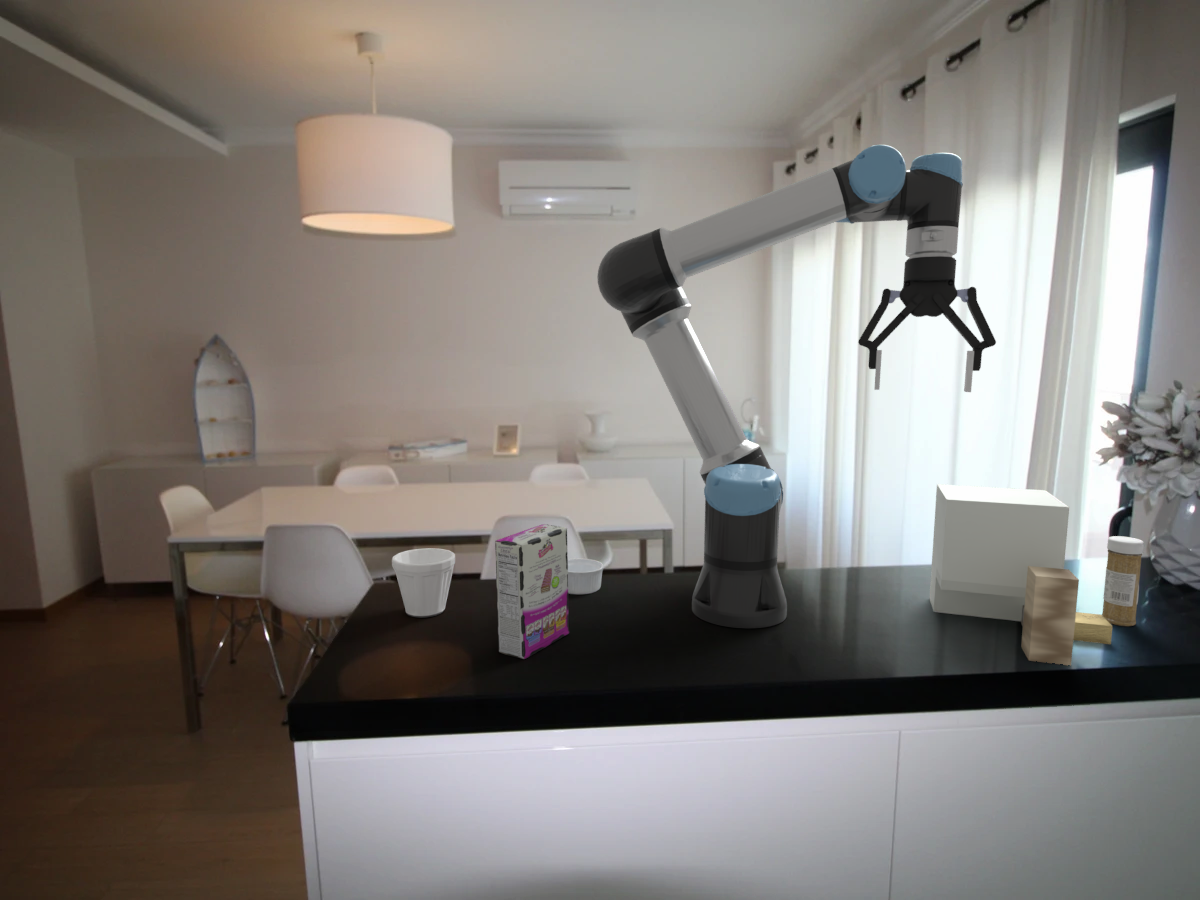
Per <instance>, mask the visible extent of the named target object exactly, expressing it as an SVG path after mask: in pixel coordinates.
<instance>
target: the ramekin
mask: <svg viewBox="0 0 1200 900" xmlns="http://www.w3.org/2000/svg"><path fill="white" fill-rule="evenodd" d="M604 567H605V566H604V564H603V563H602V562H601V561H598V560H595V559H591V558H580V557H579V558H578V557H576V558H568V595H569V594H570V595H589V594H593V593H596V592H597V591H599V590H600V589H601V586H602V576H603V571H604Z"/></svg>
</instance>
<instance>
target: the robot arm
mask: <svg viewBox="0 0 1200 900" xmlns="http://www.w3.org/2000/svg"><path fill="white" fill-rule="evenodd" d="M962 189H963V161H962V159H961V157H960V156H959V155H957V154H954V153H951V152H935V153H931V154H930V153H929V154H923V155H920V156H917V157H916V158H914V159H913V160H912V161H911V165H910V168H909V169H908V170H907V166H906V160H905V159H904V157H903V155H902V153H901V152H900V151H898V149H896V148H895V147H893V146H891V145H888V144H875V145H871V146H869V147H867V148H864V149H863V150H862V151H861V152H860V153H858V154H857V155H856V156H855V158H853V159H851V160H850V161H847V162H844V163H842V164H839V165H836V166H835V167H833V168H829V169H827V170H824V171H821V172H819V173H816V174H814V175H812V176H809V177H806V178H804V179H801V180H798V181H796V182H794V183H790V184H788V185H785V186H782V187H780V188H778V189H776V190H772V191H771V192H767V193H765V194H763V195H759V196H758V197H757V196H756V197H755V198H752V199H750V200H748V201H744V202H742V203H740V204H737V205H734V206H732V207H729V208H727V209H724V210H722V211H719V212H716V213H715V214H711V215H709V216H705V217H704V218H701V219H698V220H696V221H694V222H693V221H692V222H691V223H687V224H685V225H684V226H681V227H678V228H675V229H674V230H670V229H669V230H668V229H666V228H665V227H660V228H658V229H655V230H653V231H650V232H647V233H644V234H641V235H639V236H636V237H632V238H630V239H627V240H625V241H622V242H620V243H618V244H616V245H615V246H613V247H611V248H610V250H608V251H607V252H606V254H605V255H604V256H603V258H602V259H601V261H600V263H599V266H598V270H597V284H598V285H597V286H598V290H599V292H600V294H601V296H602V298H603V299H604V301H605V302H606V303H607V304H608V305H609V306H610V307H611V308H613V309H615V310H617V311H619V312H620V313H621V315H622V317H623V319H624V321H625V323H626V325H627V327H628V329H629V331H630V334H631V335H632V337H634V338H637V339H639V340H642V341H644V343H645V345H646V347H647V350H648V351H649V353H650V355H651V357H652V359H653V361H654V363H655V365H656V367H657V369H658V371H659V373H660V376H661V377H662V379H663V382H664V383H665V385H666V387H667V389H668V392H669V394H670V395H671V397H672V401H673V402H674V404H675V406H676V408H677V411H678V413H679V414H680V416H681V418H682V421H683V422H684V424H685V426H686V428H687V431H688V432H689V434H690V437H691V439H692V441H693V443H694V445H695V446H696V449H697V451H698V453H699V455H700V457H701V459H702V465H701V468H700V471H699V474H700V477H701V478H702V481H703V483H704V484H705V485H704V488H703V489H704V490H703V495H704V498H705V500H704V501H705V503H704V506H705V507H704V536H703V537H704V539H703V540H704V542H703V544H704V545H703V564H702V565H703V566H702V567H701V570H700V574H699V576H698V578H697V579H698V580H697V582H696V584H695V587H694V590H693V593H692V597H691V599H692V600H691V611H692V613H693V614H694V616H695V617H697V618H698V619H701V620H703V621H705V622H706V623H707V622H708V623H711V624H714V625H716V626H717V625H718V626H721V627H727V628H736V629H763V628H768V627H773V626H776V625H778V624H782V622H784V621H785V620H786V618H787V615H788V603H787V601H788V600H787V598H786V594H785V591H784V588H783V585H782V584H783V583H782V581H781V578H780V574H779V570H778V549H779V528H780V526H779V522H780V514H781V508H782V505H783V501H784V491H783V489H784V488H783V484H782V481H781V479H780V477H779V475H778V473H777V472H776V471H775V470H774V469H772V468H771V466H770V463H769V462H768V460H767V458H766V456H765V454H764V452H763V450H762V448H761V446H760V444H759V443H756V442H754V441H750V440H749V439H747V437H746V434H745V432H744V431H743V428H742V426H741V425H740V422H739V420H738V418H737V417H736V415H735V412H734V410H733V408H732V406H731V404H730V402H729V400H728V398H727V396H726V393H725V392H724V390H723V388H722V386H721V383H720V382H719V379H718V378H717V375H716V373H715V371H714V369H713V367H712V364H710V363H711V362H710V361H709V359H708V357H707V355H706V353H705V351H704V349H703V347H702V345H701V343H700V340H699V338H698V336H697V334H696V333H695V331H694V328H693V327H692V324H691V322H690V321H689V315H690V313H691V310H692V304H691V302H690V300H689V298H688V296H687V294H686V292H685V290H684V288H683V286H684V284H685V281H687V278H689V277H693V276H694V275H698V274H700V273H703V272H705V271H708V270H710V269H713V268H716V267H719V266H722V265H724V264H726V263H729V262H732V261H734V260H737V259H740V258H743V257H745V256H748V255H751V254H753V253H756V252H759V251H762V250H764V249H767V248H769V247H773V246H775V245H777V244H780V243H783V242H785V241H788V240H791V239H793V238H794V239H795V238H796V237H799V236H801V235H804V234H807V233H809V232H812V231H815V230H818V229H820V228H823V227H825V226H828V225H831V224H834V223H848V224H851V225H852V224H855V223H870V222H871V223H872V222H889V221H890V222H891V221H893V222H894V221H896V222H897V221H899V222H900V221H901V222H902V221H906V222H907V227H906V238H905V239H906V240H905V241H906V242H905V256H906V257H907V259H906V261H905V262H904V271H903V286H902V289H901V290H895V289H894V290H893V289H889V288H884V289H883V290H882V294H881V300H880V303H879V305H878V306H877V308H876V309H875V312H874V314H873V315H872V316H871V318H870V320H869V322H868V324H867V325H866V327H865V329H864V331H863V332H862V334H861V336H860V337H859V339H858V342H857V343H858V345H860V346H862V347H864V348H867V349H868V350H869V351H868V352H869V353H868V368H869V370H875V375H874V391H878V390H879V391H880V386H881V372H882V371H881V367H882V352H883V350H882V349H878V347H880V346H881V345H882V344H883V342H884V341H885V340H886V339H888V337H889V336H890V335H891V334H892V333H893V332H894V331H895V330H896V329H897V328H898V327H899V326H900V325H901V324H902V322H903V321H904V320H906V318H908V316H910V315H911V316H913V317H917V318H922V317H932V318H936V317H939V316H941V315H943V316H944V317H945V319H947V320H948V321H949V323H951V325H952V326H953V327H954V328H955V330H956V331H957V332H958V333H959V334H960V336H962V337H963V339H964V340H965V341H966V343H967V344H968V345H969V346H970V348H972V350H967V351H966V359H965V360H966V362H965V374H964V385H963V386H964V389H963V392H964V393H972V386H973V385H972V384H973V383H972V382H973V373H974V372H979V371H980V370H981V368H982V367H981V366H982V357H983V355H982V353H983V351H984V350H985V349H987V348H990V347H994V346H995V345H996V343H997V341H996V339H995V338H996V337H995V336H994V334H993V332H992V331H991V328H990V326H989V324H988V322H987V319H986V318H985V315H984V313H983V311H982V309H981V307H980V304H979V303H978V297H977V288H976V287H974V286H971V287H968V288H964V289H963V288H962V289H957V288H956V285H955V284H956V283H955V282H956V281H955V280H956V269H957V268H956V267H957V259H956V258H955V257H953V256H955V255H957V252H958V241H959V239H958V238H959V225H960V213H961V202H962V193H963V192H962ZM957 297H959V298H960V299H961V302H963V303H966V305H967V308H968V310H969V312H970V315H971V316H972V319H973V320H974V323H975V325H976V327H977V329H978V331H979V333H980V335H981V337H982V340H981V341H980V340H979V339H978V338H977V336H976V335H975V334H974V333H973V332H972V330H970V328H969V327H968V326H967V324H965V323H964V321H963V320H962V319H961V318H960V317H959V315H958V314H957V312H955V310H954V309H953V308H952V307H951V304H953V302H954V301H955V299H956V298H957ZM898 298H899V299H900V301H901V302H902V304H903V305H904V306H905V307H904V308H903V309H902V310H901V311H900V312H899V313H898V314H897V315H896V317H895V318H893V320H892V321H891V322H890V323H889V324H888V325H886V327H885V328H884V329H883V330H882V331H881V332H880V333H879V334H878V335H877V337H875V338H874V339H873V340H869V339H870V337H871V336H872V334H873V332H874V331H875V329H876V328H877V326H878V324H879V322H880V320H881V318H882V317H883V316H884V313H885V312H886V310H887V308H888V306H889V304H893V303H895V301H896V299H898Z"/></svg>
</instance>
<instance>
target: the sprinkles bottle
mask: <svg viewBox="0 0 1200 900" xmlns="http://www.w3.org/2000/svg"><path fill="white" fill-rule="evenodd" d="M1144 544H1145V542H1144V541H1143V540H1141V539H1139V538H1134V537H1130V536H1123V535H1122V536H1121V535H1117V536H1116V535H1115V536H1114V535H1113V536H1109V537H1108V539H1107V544H1106V545H1107V546H1106V548H1107V560H1106V561H1107V562H1106V568H1105V580H1104V587H1103V598H1102V599H1103V604H1102V614H1101V615H1102V616H1103V617H1104V618H1105V619H1106V620H1107V621H1108V622H1109V623H1110V624H1111V625H1114V626H1120V627H1132V626H1135V625H1137V620H1136V617H1137V609H1138V608H1137V607H1138V606H1137V605H1138V602H1139V591H1140V577H1141V564H1142V556H1143V554H1144V551H1145V550H1144V549H1145V545H1144Z"/></svg>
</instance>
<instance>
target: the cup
mask: <svg viewBox="0 0 1200 900" xmlns="http://www.w3.org/2000/svg"><path fill="white" fill-rule="evenodd" d="M455 564H456V553H454V552H453V551H451V550H449V549H443V548H434V547H433V548H432V547H431V548H430V547H429V548H428V547H427V548H415V549H409V550H404V551H401V552H398V553H396V554H395V555H393V556H392V558H391V567H392V568H393V570H394V572H395V575H396V578H397V582H398V586H399V591H400V594H401V597H402V598H401V599H402V601H403V606H404V608H405V613H406V615H407V616H409V617H413V618H418V619H419V618H421V619H422V618H423V619H424V618H431V617H436V616H438V615H441V614H442V613H443V612H444V611H445V609H446V605H447V599H448V596H449V592H450V591H449V590H450V586H451V583H452V576H453V572H454V566H455Z"/></svg>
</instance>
